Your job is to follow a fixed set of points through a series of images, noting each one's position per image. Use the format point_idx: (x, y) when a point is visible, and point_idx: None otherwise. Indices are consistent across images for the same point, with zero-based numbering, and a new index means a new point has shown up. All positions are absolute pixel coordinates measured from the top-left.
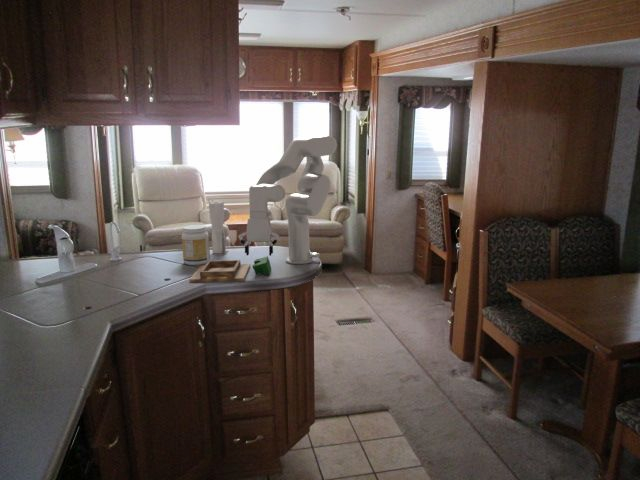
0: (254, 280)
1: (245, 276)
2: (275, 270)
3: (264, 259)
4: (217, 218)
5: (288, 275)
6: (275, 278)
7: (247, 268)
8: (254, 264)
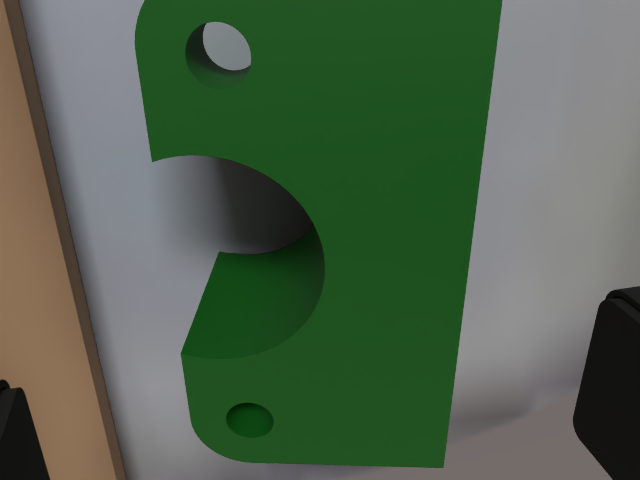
0: (250, 473)
1: (107, 412)
2: (506, 46)
3: (412, 214)
4: None
5: (633, 282)
6: (479, 392)
7: (9, 95)
8: (220, 384)
